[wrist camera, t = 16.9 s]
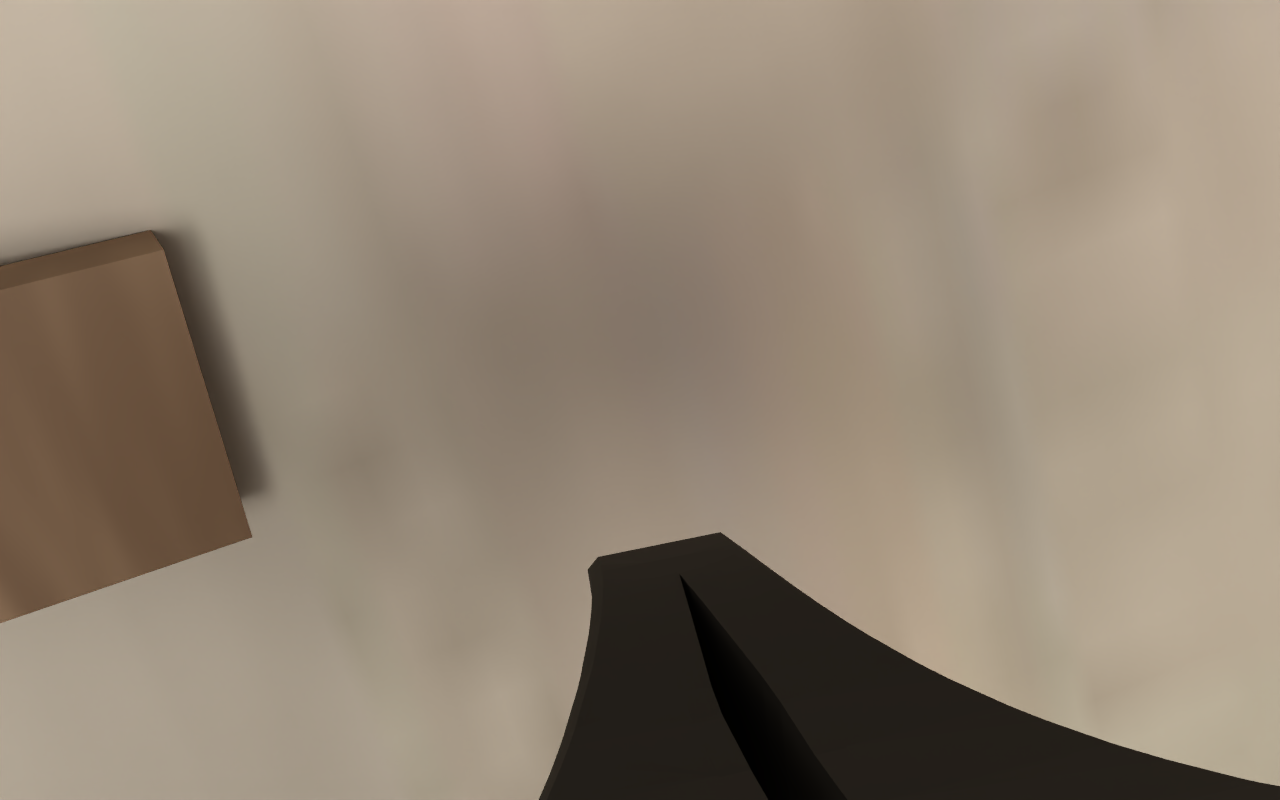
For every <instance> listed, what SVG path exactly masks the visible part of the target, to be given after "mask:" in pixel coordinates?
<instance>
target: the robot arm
mask: <svg viewBox="0 0 1280 800" xmlns="http://www.w3.org/2000/svg"><path fill="white" fill-rule="evenodd" d="M588 575H589V581H590V587H591V593H592V610H591V620H590V629H589V636H588V642H587V647H586V652H585V657H584V662H583V667H582V673H581V677H580V682H579V686H578V690H577V693H576V696H575V700H574V703H573V706H572V710H571V713H570V716H569V720H568V723H567V726H566V730H565V733H564V737H563V740H562V743H561V745H560V748H559V751H558V754H557V756H556V759H555V762H554V765H553V767H552V770H551V772H550V775H549V777H548V780H547V782H546V785H545V787H544V789H543V792H542V794H541V796H540V798H539V800H1280V786H1275V785H1270V784H1264V783H1259V782H1254V781H1250V780H1245V779H1241V778H1237V777H1233V776H1229V775H1225V774H1221V773H1217V772H1213V771H1209V770H1205V769H1201V768H1197V767H1194V766H1190V765H1186V764H1182V763H1178V762H1174V761H1170V760H1166V759H1163V758H1159V757H1156V756H1152V755H1149V754H1146V753H1142V752H1139V751H1136V750H1132V749H1129V748H1125V747H1122V746H1119V745H1116V744H1112V743H1109V742H1106V741H1104V740H1101V739H1098V738H1095V737H1092V736H1089V735H1086V734H1083V733H1081V732H1078V731H1075V730H1072V729H1069V728H1066V727H1063V726H1060V725H1058V724H1055V723H1052V722H1049V721H1046V720H1044V719H1041V718H1038V717H1036V716H1033V715H1031V714H1028V713H1026V712H1023V711H1021V710H1018V709H1016V708H1013V707H1011V706H1008V705H1006V704H1004V703H1001V702H999V701H997V700H995V699H993V698H990V697H988V696H986V695H984V694H981V693H979V692H977V691H975V690H973V689H970V688H968V687H966V686H964V685H961V684H959V683H957V682H955V681H953V680H950V679H948V678H946V677H944V676H942V675H940V674H938V673H936V672H934V671H932V670H930V669H928V668H926V667H924V666H923V665H921V664H919V663H917V662H915V661H913V660H912V659H910V658H908V657H906V656H904V655H903V654H901V653H899V652H897V651H896V650H894V649H892V648H890V647H888V646H887V645H885V644H883V643H881V642H880V641H878V640H876V639H874V638H872V637H871V636H869V635H867V634H866V633H864V632H863V631H861V630H859V629H858V628H856V627H854V626H853V625H851V624H849V623H848V622H846V621H845V620H843V619H842V618H840V617H839V616H837V615H836V614H834V613H833V612H831V611H830V610H828V609H827V608H825V607H823V606H822V605H820V604H819V603H817V602H816V601H814V600H813V599H812V598H810V597H809V596H807V595H806V594H804V593H803V592H802V591H800V590H799V589H797V588H796V587H795V586H793V585H792V584H790V583H789V582H788V581H786V580H785V579H784V578H782V577H781V576H779V575H778V574H777V573H775V572H774V571H773V570H771V569H770V568H768V567H767V566H766V565H764V564H763V563H762V562H760V561H759V560H758V559H756V558H755V557H754V556H752V555H751V554H750V553H748V552H747V551H746V550H744V549H743V548H742V547H740V546H739V545H737V544H736V543H735V542H733V541H732V540H730V539H729V538H728V537H726V536H725V535H723V534H722V533H721V532H720V533H715V534H710V535H705V536H700V537H695V538H690V539H685V540H680V541H675V542H670V543H665V544H660V545H655V546H650V547H645V548H640V549H636V550H631V551H626V552H621V553H616V554H611V555H606V556H601V557H598V558H597V559H596V560H595V561H594V563H593V564H592V565H591V566H590V568H589V569H588Z"/></svg>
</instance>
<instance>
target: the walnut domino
mask: <svg viewBox="0 0 1280 800" xmlns="http://www.w3.org/2000/svg"><path fill="white" fill-rule="evenodd" d="M251 537H252V535H251V531H250V528H249V525H248V522H247V519H246V515H245V512H244V509H243V506H242V502H241V499H240V496H239V493H238V489H237V486H236V483H235V480H234V476H233V473H232V470H231V467H230V463H229V460H228V457H227V454H226V450H225V447H224V444H223V441H222V437H221V434H220V431H219V428H218V424H217V421H216V418H215V415H214V411H213V408H212V405H211V402H210V398H209V395H208V392H207V389H206V385H205V382H204V379H203V376H202V372H201V369H200V366H199V363H198V359H197V356H196V353H195V350H194V346H193V343H192V340H191V337H190V333H189V330H188V327H187V324H186V321H185V317H184V314H183V311H182V308H181V304H180V301H179V298H178V295H177V291H176V288H175V285H174V282H173V278H172V275H171V272H170V269H169V265H168V262H167V259H166V256H165V252H164V249H163V248H162V246H161V245H160V243H159V242H158V240H157V239H156V237H155V236H154V234H153V233H152V231H151V230H149V231H145V232H141V233H136V234H132V235H128V236H124V237H120V238H116V239H111V240H107V241H103V242H99V243H95V244H91V245H86V246H82V247H78V248H74V249H70V250H66V251H62V252H57V253H53V254H49V255H45V256H41V257H37V258H32V259H28V260H24V261H20V262H16V263H12V264H7V265H3V266H0V623H2V622H5V621H8V620H11V619H14V618H17V617H19V616H22V615H25V614H28V613H31V612H34V611H37V610H40V609H43V608H46V607H49V606H52V605H55V604H57V603H60V602H63V601H66V600H69V599H72V598H75V597H78V596H81V595H84V594H87V593H90V592H93V591H96V590H98V589H101V588H104V587H107V586H110V585H113V584H116V583H119V582H122V581H125V580H128V579H131V578H134V577H137V576H139V575H142V574H145V573H148V572H151V571H154V570H157V569H160V568H163V567H166V566H169V565H172V564H175V563H177V562H180V561H183V560H186V559H189V558H192V557H195V556H198V555H201V554H204V553H207V552H210V551H213V550H216V549H218V548H221V547H224V546H227V545H230V544H233V543H236V542H239V541H242V540H245V539H248V538H251Z"/></svg>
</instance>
